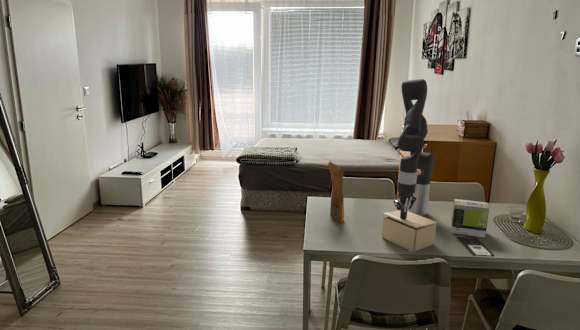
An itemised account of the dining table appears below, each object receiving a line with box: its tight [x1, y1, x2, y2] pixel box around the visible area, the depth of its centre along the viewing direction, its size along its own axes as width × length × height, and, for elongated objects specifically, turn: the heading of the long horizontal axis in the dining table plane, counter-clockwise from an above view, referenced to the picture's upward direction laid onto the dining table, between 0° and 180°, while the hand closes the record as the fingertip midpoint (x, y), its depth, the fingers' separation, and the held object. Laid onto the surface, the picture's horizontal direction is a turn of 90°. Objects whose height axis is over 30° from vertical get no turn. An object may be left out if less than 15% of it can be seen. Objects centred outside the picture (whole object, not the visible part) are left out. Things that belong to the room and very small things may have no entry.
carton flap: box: [382, 209, 438, 228], centre depth 189 cm, size 14×19×1 cm
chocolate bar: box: [456, 236, 495, 257], centre depth 189 cm, size 9×1×18 cm
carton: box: [381, 215, 438, 253], centre depth 191 cm, size 14×18×10 cm
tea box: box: [450, 198, 490, 239], centre depth 202 cm, size 15×10×15 cm, turn 71°
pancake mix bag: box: [327, 160, 345, 224], centre depth 214 cm, size 7×19×28 cm, turn 8°
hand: (403, 218), depth 186 cm, fingers closed
